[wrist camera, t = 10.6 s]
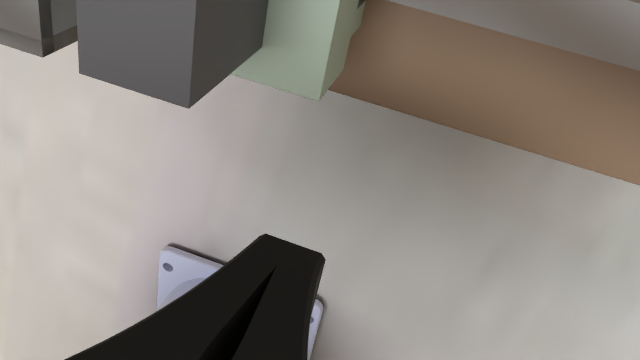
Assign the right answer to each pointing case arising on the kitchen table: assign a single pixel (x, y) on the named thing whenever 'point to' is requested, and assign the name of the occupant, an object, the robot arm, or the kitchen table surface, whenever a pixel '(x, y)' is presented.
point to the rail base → (469, 69)
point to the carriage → (215, 44)
